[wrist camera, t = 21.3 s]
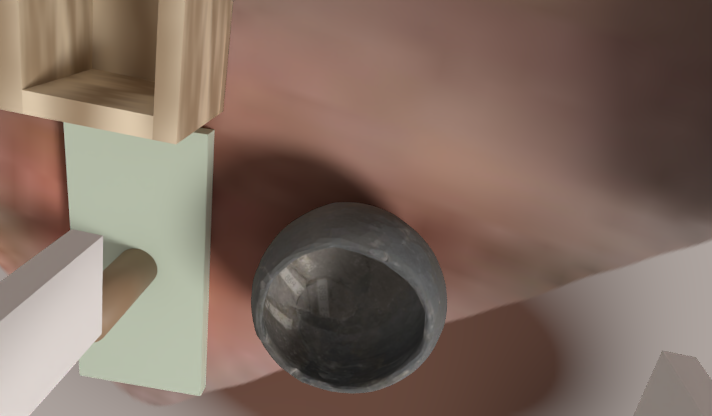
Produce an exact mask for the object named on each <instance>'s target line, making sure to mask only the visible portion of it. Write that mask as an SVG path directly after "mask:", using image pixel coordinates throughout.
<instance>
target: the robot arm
mask: <svg viewBox="0 0 712 416" xmlns="http://www.w3.org/2000/svg"><path fill="white" fill-rule="evenodd" d="M102 283H103V235H98V234H93V233H88V232H83V231H78V230H73V229H71V230H70V231H68V232H67V233H66V234H64V235H63V236H62V237H60V238H59V239H57V240H56V241H55V242H53V243H52V244H51V245H49V246H48V247H47V248H45V249H44V250H43V251H41V252H40V253H38V254H37V255H36V256H34V257H33V258H32V259H30V260H29V261H28V262H26V263H25V264H24V265H22V266H21V267H20V268H18V269H17V270H15V271H14V272H13V273H11V274H10V275H9V276H7V277H6V278H5V279H3V280H2V281H1V282H0V416H29V415H30V414H31V413H32V412H33V411H34V410H35V409H36V408H37V406H38V405H39V404H40V403H41V402H42V401H43V400H44V398H45V397H46V396H47V395H48V394H49V393H50V392H51V391H52V389H53V388H54V387H55V386H56V385H57V384H58V383H59V381H60V380H61V379H62V378H63V377H64V376H65V375H66V374H67V372H68V371H69V370H70V369H71V368H72V367H73V366H74V365H75V363H76V362H77V361H78V360H79V359H80V358H81V357H82V355H83V354H84V353H85V352H86V351H87V350H88V349H89V348H90V346H91V345H92V344H93V343H94V342H95V341H96V340H97V338H98V337H99V336H100V335H101V334H102ZM634 416H712V380H711V378H710V377H709V375H708V374H707V373H706V371H705V370H704V368H703V367H702V365H701V364H700V363H699V361H698V360H697V358H695V357H691V356H686V355H682V354H676V353H671V352H667V351H662V352H661V355H660V357H659V359H658V361H657V364H656V366H655V368H654V370H653V373H652V375H651V377H650V380H649V382H648V384H647V386H646V388H645V391H644V393H643V395H642V398H641V400H640V402H639V404H638V406H637V409H636V411H635V413H634Z"/></svg>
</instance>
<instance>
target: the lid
mask: <svg viewBox="0 0 712 416" xmlns="http://www.w3.org/2000/svg"><path fill="white" fill-rule="evenodd" d="M63 124H64V140H65V155H66V170H67V186H68V201H69V217H70V230H71V229H73V230H78V231H83V232H88V233H93V234H98V235H103V283H102V334H101V335H100V336H99V337H98V338H97V340H96V341H95V342H94V343H93V344H92V345H91V346H90V348H89V349H88V350H87V351H86V352H85V353H84V354H83V355H82V357H81V358H80V359H79V371H80V375H81V376H87V377H93V378H98V379H104V380H110V381H116V382H122V383H127V384H133V385H139V386H145V387H150V388H156V389H162V390H168V391H174V392H179V393H185V394H191V395H197V396H201V394H202V392H203V390H204V388H205V386H206V361H207V332H208V303H209V274H210V245H211V216H212V187H213V158H214V130H213V129H206V128H199V129H197V130H196V131H194V132H193V133H192V134H190V135H189V136H187V137H186V138H185V139H183V140H182V141H180V142H179V143H178V144H171V143H166V142H161V141H156V140H151V139H146V138H141V137H136V136H131V135H126V134H121V133H116V132H111V131H106V130H101V129H96V128H91V127H86V126H81V125H76V124H71V123H66V122H63Z"/></svg>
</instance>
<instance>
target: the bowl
mask: <svg viewBox="0 0 712 416" xmlns="http://www.w3.org/2000/svg"><path fill="white" fill-rule="evenodd" d="M251 308H252V317H253V323H254V327H255V331H256V334H257V336H258V337H259V339H260V340H261V342H262V343H263V345H264V347H265V348H266V350H267V351H268V353H269V354H270V355H271V357H272V358H273V359H274V360H275V362H276V363H277V364H278V365H279V366H280V367H281V368H283V369H284V370H285V371H287V372H288V373H289V374H291V375H292V376H294V377H295V378H297V379H298V380H300V381H301V382H303V383H307V384H309V385H312V386H314V387H318V388H321V389H325V390H328V391H333V392H342V393H364V392H371V391H376V390H379V389H382V388H385V387H388V386H390V385H393V384H394V383H396V382H398V381H400V380H402V379H404V378H405V377H407V376H408V375H410V374H411V373H412V372H414V371H415V370H416V369H417V368H418V367H419V366H420V365H421V364H422V363H423V362H424V361H425V360H426V359H427V357H428V356H429V355H430V353H431V352H432V350H433V348H434V347H435V345H436V342H437V341H438V338H439V336H440V334H441V332H442V330H443V327H444V323H445V319H446V312H447V293H446V284H445V281H444V277H443V274H442V271H441V268H440V266H439V263H438V261H437V259H436V257H435V255H434V253H433V251H432V250H431V248H430V247H429V246H428V244H427V243H426V242H425V240H424V239H423V238H422V237H421V236H420V235H419V234H418V233H417V232H416V231H415V230H414V229H413V228H411V227H410V226H409V225H408V224H406V223H405V222H404V221H402V220H401V219H400V218H398V217H397V216H395V215H394V214H392V213H390V212H388V211H386V210H383V209H381V208H378V207H375V206H372V205H368V204H363V203H355V202H337V203H331V204H328V205H325V206H322V207H319V208H316V209H314V210H312V211H310V212H308V213H306V214H304V215H302V216H301V217H299V218H297V219H296V220H294V221H293V222H291V223H290V224H289V225H287V226H286V227H285V228H284V229H283V230H282V231H281V232H280V233H279V234H278V235H277V236H276V237H275V239H274V240H273V241H272V243H271V244H270V245H269V247H268V248H267V250H266V252H265V253H264V255H263V257H262V258H261V261H260V264H259V266H258V268H257V270H256V273H255V276H254V280H253V285H252V297H251Z"/></svg>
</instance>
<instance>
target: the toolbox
mask: <svg viewBox="0 0 712 416" xmlns="http://www.w3.org/2000/svg"><path fill="white" fill-rule="evenodd" d="M232 8H233V0H0V109H1V110H6V111H11V112H16V113H21V114H26V115H31V116H36V117H41V118H46V119H51V120H56V121H61V122H66V123H71V124H76V125H81V126H86V127H91V128H96V129H101V130H106V131H111V132H116V133H121V134H126V135H131V136H136V137H141V138H146V139H151V140H156V141H161V142H166V143H171V144H178V143H179V142H180V141H182V140H183V139H185V138H186V137H187V136H189V135H190V134H192V133H193V132H194V131H196V130H197V129H199V128H200V127H202V126H203V125H204V124H206V123H207V122H209V121H210V120H211V119H213V118H214V117H216V116H217V115H219V114H220V113H221V112H223V107H224V96H225V85H226V74H227V63H228V52H229V41H230V30H231V19H232Z"/></svg>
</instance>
